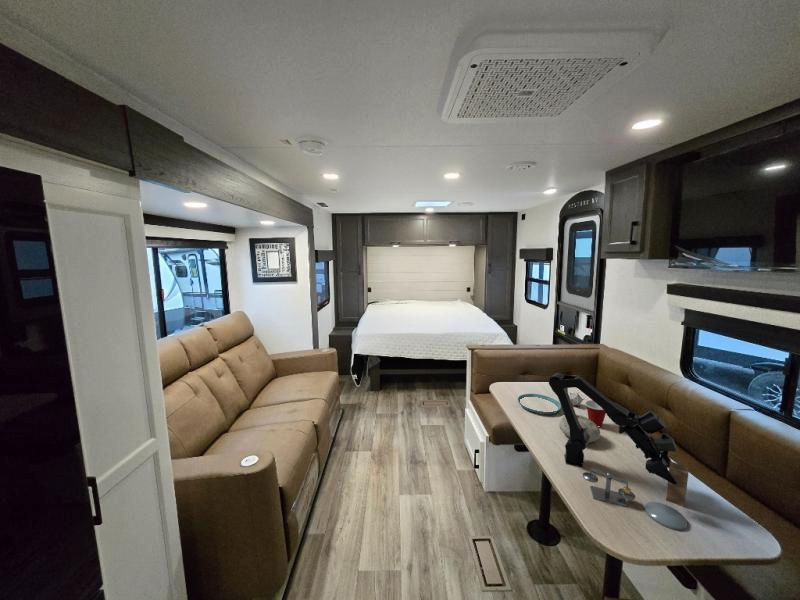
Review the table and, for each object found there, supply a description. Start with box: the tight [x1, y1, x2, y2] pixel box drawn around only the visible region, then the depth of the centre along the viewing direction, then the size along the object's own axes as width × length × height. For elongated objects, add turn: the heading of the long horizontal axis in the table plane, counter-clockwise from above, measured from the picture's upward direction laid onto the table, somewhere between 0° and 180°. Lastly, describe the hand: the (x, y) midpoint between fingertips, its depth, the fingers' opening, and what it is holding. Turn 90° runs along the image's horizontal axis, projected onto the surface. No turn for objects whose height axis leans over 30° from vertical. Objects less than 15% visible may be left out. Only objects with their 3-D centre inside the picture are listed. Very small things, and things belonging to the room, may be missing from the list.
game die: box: [569, 392, 585, 406], centre depth 191 cm, size 9×8×10 cm
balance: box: [582, 467, 636, 507], centre depth 116 cm, size 17×6×10 cm, turn 68°
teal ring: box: [517, 393, 562, 415], centre depth 190 cm, size 24×24×3 cm
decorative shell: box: [558, 414, 601, 444], centre depth 156 cm, size 18×18×10 cm
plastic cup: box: [584, 399, 607, 427], centre depth 168 cm, size 11×11×12 cm
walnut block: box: [665, 460, 689, 508], centre depth 115 cm, size 5×5×13 cm
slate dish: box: [644, 501, 688, 531], centre depth 108 cm, size 11×11×1 cm
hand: (675, 477), depth 115 cm, fingers open, 9 cm apart
